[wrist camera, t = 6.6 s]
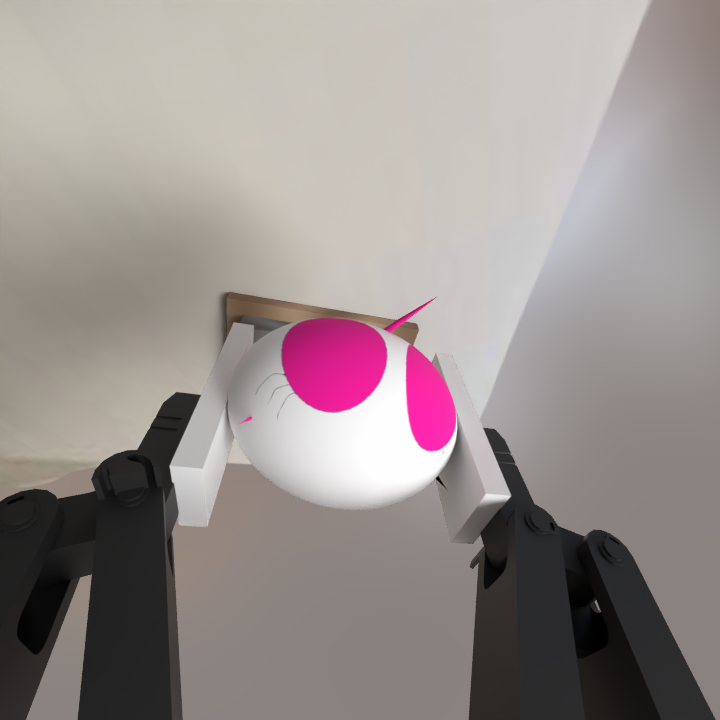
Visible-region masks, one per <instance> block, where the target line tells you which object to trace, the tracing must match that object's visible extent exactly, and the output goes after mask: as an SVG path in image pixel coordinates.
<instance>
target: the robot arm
mask: <svg viewBox="0 0 720 720" xmlns="http://www.w3.org/2000/svg"><path fill="white" fill-rule="evenodd" d="M253 338H254V325H248V324H242V323H235V322H234V323H233V325H232V327H231V330H230V332H229V334H228V336H227V339H226V341H225V343H224V345H223V348H222V350H221V352H220V354H219V356H218V359H217V361H216V363H215V365H214V368H213V370H212V372H211V374H210V377H209V379H208V381H207V383H206V386H205V388H204V390H203V392H202V394H201V395H196V394H188V393H179V392H176V393H175V394H174V395H173V396H171V397H170V398H169V399H168V400H166V401H165V402H164V403H163V405H162V406H161V408H160V410H159V412H158V414H157V415H156V418H155V419H154V421H153V423H152V424H151V427H150V429H149V430H148V432H147V433H146V435H145V437H144V439H143V441H142V442H141V444H140V446H139V448H138V450H127V451H124V452H121V453H117V454H114V455H113V456H111V457H109V458H108V459H106V460H104V461H103V462H102V463H101V464H100V465H99V466H98V467H97V469H96V470H95V472H94V474H93V477H92V479H91V480H92V483H93V485H94V488H95V491H94V492H90V493H86V494H81V495H76V496H70V497H65V498H60V499H57V497H56V496H55V495H54V494H52V493H51V492H49V491H47V490H39V489H33V490H27V491H21V492H19V493H16V494H14V495H11V496H9V497H7V498H5V499H4V500H2V501H0V720H26V718H27V715H28V712H29V710H30V707H31V705H32V702H33V699H34V697H35V694H36V692H37V689H38V686H39V684H40V681H41V678H42V676H43V673H44V671H45V668H46V665H47V663H48V660H49V658H50V655H51V652H52V650H53V647H54V645H55V642H56V639H57V637H58V634H59V631H60V629H61V626H62V624H63V621H64V618H65V616H66V613H67V611H68V608H69V605H70V603H71V600H72V597H73V595H74V592H75V589H76V587H77V584H78V582H79V579H80V577H83V576H87V575H91V574H92V580H91V590H90V601H89V610H88V620H87V631H86V642H85V651H84V661H83V671H82V682H81V692H80V702H79V712H78V720H183V718H182V699H181V682H180V663H179V646H178V645H179V644H178V627H177V608H176V590H175V573H174V554H173V538H172V530H173V527H174V525H175V522H176V519H177V517H178V521H179V525H183V526H201V527H207V526H208V522H209V519H210V516H211V513H212V509H213V506H214V502H215V499H216V496H217V492H218V489H219V486H220V482H221V479H222V476H223V472H224V469H225V466H226V463H227V459H228V456H229V453H230V449H231V446H232V443H233V439H234V434H233V431H232V428H231V425H230V421H229V416H228V408H227V402H228V388H229V384H230V381H231V377H232V374H233V372H234V370H235V368H236V366H237V364H238V363H239V361H240V359H241V357H242V356H243V355H244V354H245V353H246V352H247V351H248V349H249V348H250V347H251V346H252V345H253ZM432 364H433V365H434V367H435V368H436V369H437V370H438V372H439V373H440V375H441V376H442V378H443V379H444V381H445V383H446V384H447V386H448V388H449V391H450V393H451V395H452V398H453V401H454V405H455V409H456V415H457V436H456V442H455V446H454V449H453V452H452V455H451V457H450V459H449V461H448V463H447V465H446V466H445V468H444V469H443V471H442V472H441V474H440V475H439V478H440V479H441V481H442V482H443V484H444V486H445V487H446V488H445V487H444V486H442V485H441V484H440V483H439V482H438V481H437V480H436V483H437V487H438V491H439V495H440V499H441V504H442V507H443V511H444V516H445V520H446V524H447V528H448V532H449V537H450V541H451V542H452V543H468V544H473V543H474V542H475V541H476V539H477V538H478V537H479V536H480V534H481V537H482V540H483V544H484V547H483V548H482V549H481V550H480V552H479V553H478V554H477V555H476V556H475V558H474V559H473V560H472V561H471V564H470V568H472V569H473V568H474V567H475V566H476V565H477V564H478V562H479V565H478V582H477V597H476V614H475V629H474V645H473V662H472V677H471V692H470V709H469V720H715V718H714V716H713V714H712V712H711V710H710V708H709V706H708V704H707V702H706V700H705V698H704V696H703V694H702V692H701V690H700V688H699V686H698V684H697V682H696V680H695V678H694V676H693V674H692V672H691V670H690V668H689V667H688V665H687V663H686V661H685V659H684V657H683V655H682V653H681V651H680V649H679V647H678V645H677V643H676V641H675V639H674V637H673V635H672V633H671V631H670V629H669V627H668V625H667V623H666V621H665V619H664V617H663V615H662V613H661V611H660V610H659V607H658V605H657V604H656V602H655V600H654V598H653V596H652V594H651V592H650V590H649V588H648V586H647V584H646V582H645V580H644V578H643V576H642V574H641V572H640V570H639V568H638V566H637V564H636V562H635V560H634V558H633V557H632V555H631V553H630V552H629V550H628V549H627V547H626V546H625V545H624V544H623V543H621V542H620V540H618V539H617V538H616V537H614V536H613V535H611V534H610V533H607V532H605V531H602V530H593V531H591V532H590V533H588V534H587V535H586V536H585V537H584V536H582V535H579V534H576V533H574V532H572V531H569V530H566V529H564V528H561V527H559V526H558V525H557V524H556V522H555V521H554V519H553V518H552V516H551V515H549V514H548V513H547V512H546V511H545V510H544V509H542V508H540V507H539V506H537V505H535V504H534V502H533V500H532V498H531V496H530V494H529V491H528V489H527V487H526V485H525V483H524V481H523V478H522V477H521V474H520V472H519V470H518V468H517V466H515V461H514V459H513V457H512V456H511V455H510V454H511V453H510V450H509V448H508V446H507V444H506V442H505V440H504V439H503V438H502V437H501V436H500V434H499V433H498V432H497V431H496V430H495V429H489V428H483V427H482V424H481V422H480V420H479V417H478V415H477V412H476V410H475V408H474V405H473V403H472V400H471V398H470V396H469V393H468V391H467V388H466V386H465V384H464V381H463V379H462V376H461V374H460V372H459V369H458V367H457V364H456V362H455V360H454V357H453V355H446V354H440V353H436V354H435V356H434V359H433V361H432ZM596 600H597V602H598V605H599V608H600V610H601V612H600V611H599V610H598V609H597V606H596V604H595V602H594V601H596Z"/></svg>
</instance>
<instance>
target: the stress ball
mask: <svg viewBox="0 0 720 720" xmlns="http://www.w3.org/2000/svg"><path fill="white" fill-rule="evenodd" d="M437 297H438V296H437ZM435 298H436V297H435ZM435 298H434V299H435ZM434 299H432V300H434ZM432 300H430V301H429V302H427V303H425V304H424V305H422V306H420V307H418V308H417V309H415V310H413V311H412V312H410V313H408V314H407V315H405V316H403V317H401V318H400V319H398V320H396V321H395V322H393V323H391V324H390V325H388V326H386V327H384V328H383V329H381V328H379V327H377V326H374V325H370V324H367V323H364V322H359V321H354V320H348V319H341V318H316V319H308V320H302V321H298V322H294V323H290V324H288V325H285V326H282V327H280V328H278V329H276V330H273V331H272V332H270V333H268V334H267V335H265V336H264V337H262V338H261V339H259V340H258V341H257V342H256V343H254V344H253V345H252V346H251V347H250V348H249V349H248V351H247V352H246V353H245V354H244V355H243V356H242V357H241V359H240V361H239V363H238V364H237V366H236V368H235V370H234V372H233V374H232V377H231V381H230V384H229V388H228V402H227V408H228V416H229V421H230V425H231V428H232V431H233V434H234V436H235V438H236V441H237V443H238V444H239V446H240V448H241V450H242V451H243V453H244V454H245V456H246V457H247V458H248V460H249V461H250V462H251V463H252V464H253V466H254V467H255V468H256V469H257V470H258V471H259V472H261V473H262V474H263V475H264V476H265V477H266V478H267V479H268V480H270V481H271V482H272V483H274V484H275V485H277V486H278V487H280V488H281V489H283V490H285V491H286V492H288V493H290V494H292V495H294V496H296V497H298V498H301V499H303V500H306V501H308V502H311V503H314V504H318V505H321V506H326V507H331V508H337V509H346V510H367V509H376V508H382V507H386V506H390V505H393V504H397V503H399V502H402V501H404V500H407V499H409V498H411V497H413V496H414V495H416V494H418V493H419V492H421V491H422V490H424V489H425V488H426V487H428V486H429V485H430V484H431V483H432V482H433V481H434V480H435V479H436V480H437V481H438V482H439V483H440V484H441V485H442V486H444V484H443V482H442V481H441V479H440V478H439V475H440V474H441V472H442V471H443V469H444V468H445V466H446V465H447V463H448V461H449V459H450V457H451V455H452V452H453V449H454V446H455V442H456V436H457V415H456V409H455V405H454V401H453V398H452V395H451V393H450V391H449V388H448V386H447V384H446V383H445V381H444V379H443V378H442V376H441V375H440V373H439V372H438V370H437V369H436V368H435V367H434V365H433V364H432V363H431V362H430V361H429V360H428V359H427V358H426V357H425V356H424V355H423V354H422V353H421V352H420V351H418V350H417V349H416V348H415V347H413V346H412V345H411V344H409V343H408V342H406V341H405V340H403V339H402V338H400V337H398V336H396V335H394V334H392V333H391V332H392V331H394V330H395V329H396V328H397V327H399V326H400V325H401V324H403V323H404V322H405V321H406V320H408V319H409V318H410V317H412V316H413V315H414V314H416V313H417V312H418V311H419V310H421V309H422V308H423V307H425V306H426V305H427V304H428V303H430V302H431V301H432ZM444 487H445V486H444ZM445 488H446V487H445Z"/></svg>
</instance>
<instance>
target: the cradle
mask: <svg viewBox="0 0 720 720" xmlns="http://www.w3.org/2000/svg"><path fill="white" fill-rule="evenodd" d="M316 318H341V319H348V320H354V321H359V322H364V323H367V324H370V325H374V326H377V327H379V328H381V329H383V328H384V327H386V326H388V325H390V324H391V323H393V322H395V321H396V320H391V319H385V318H379V317H373V316H367V315H362V314H356V313H350V312H344V311H338V310H332V309H326V308H320V307H314V306H308V305H302V304H296V303H290V302H285V301H279V300H273V299H267V298H261V297H255V296H249V295H243V294H237V293H231V292H230V293H229V295H228V296H227V336H228V334H229V332H230V330H231V327H232V325H233V323H234V322H235V323H242V324H248V325H254V338H253V344H254V343H256V342H257V341H258V340H259V339H261V338H262V337H264V336H265V335H267V334H268V333H270V332H272V331H273V330H276V329H278V328H280V327H282V326H285V325H288V324H290V323H294V322H298V321H302V320H308V319H316ZM418 331H419V329H418V326H417V324H415V323H409V322H404V323H403V324H401V325H400V326H399V327H397V328H396V329H395V330H394V331H392V332H391V333H392V334H394V335H396V336H398V337H400V338H402V339H403V340H405V341H406V342H408V343H409V344H411V345H412V346H413V344H414V342H415V339H416V336H417V334H418Z"/></svg>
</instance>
